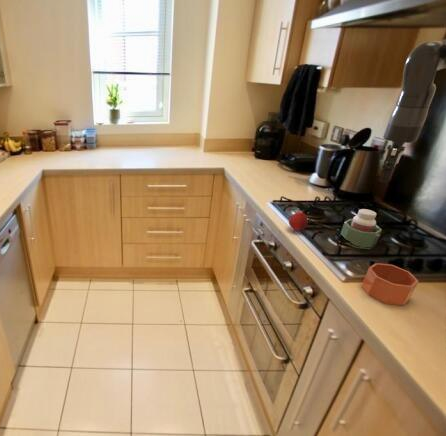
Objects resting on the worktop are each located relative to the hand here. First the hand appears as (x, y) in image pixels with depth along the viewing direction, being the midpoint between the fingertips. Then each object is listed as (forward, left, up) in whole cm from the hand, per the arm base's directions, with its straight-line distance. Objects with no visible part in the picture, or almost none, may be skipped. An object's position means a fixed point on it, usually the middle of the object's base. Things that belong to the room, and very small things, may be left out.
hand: (384, 178), depth 95 cm
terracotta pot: (+5, +26, -23) cm, 35 cm away
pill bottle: (+1, -1, -23) cm, 23 cm away
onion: (+19, -5, -23) cm, 30 cm away
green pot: (+1, -1, -23) cm, 23 cm away
